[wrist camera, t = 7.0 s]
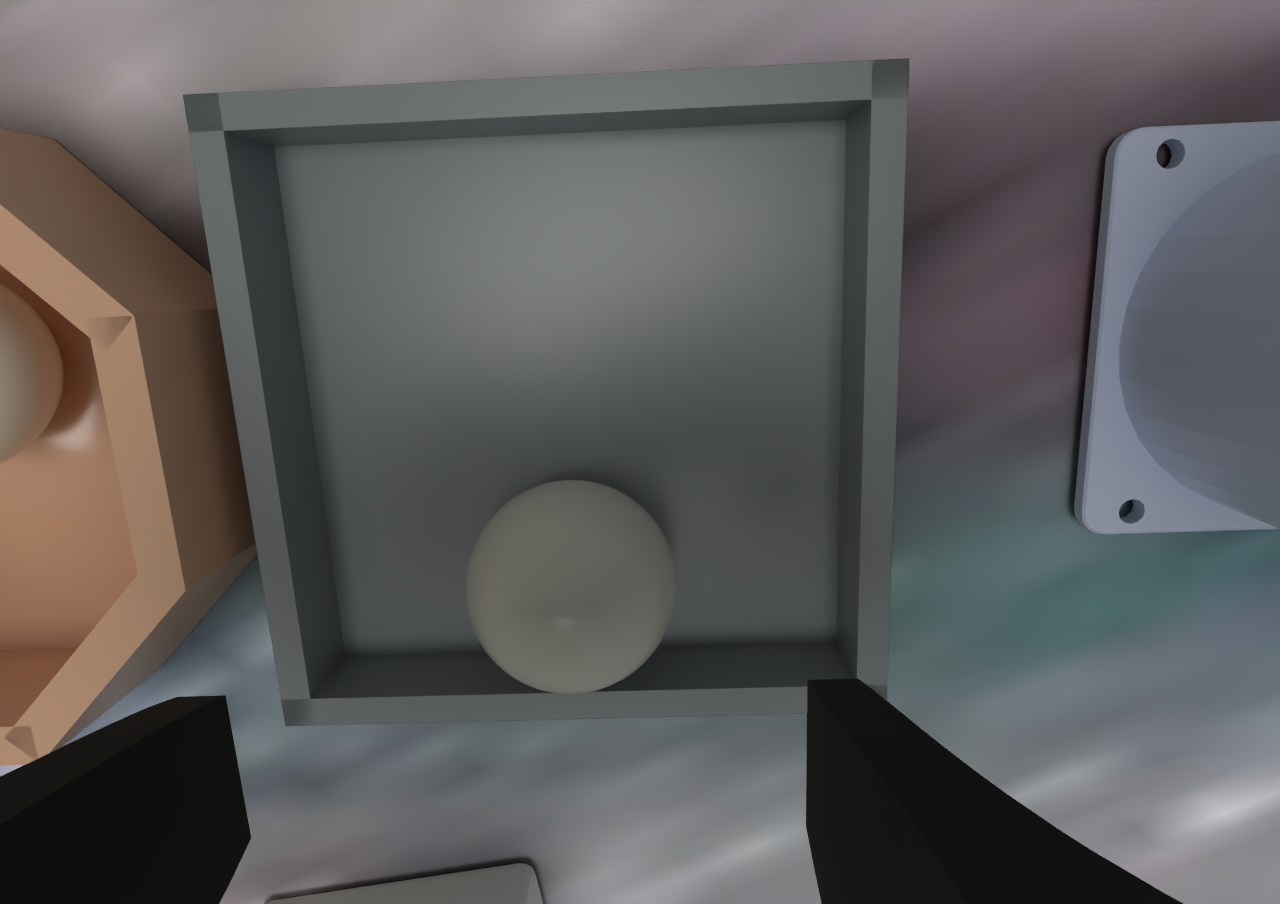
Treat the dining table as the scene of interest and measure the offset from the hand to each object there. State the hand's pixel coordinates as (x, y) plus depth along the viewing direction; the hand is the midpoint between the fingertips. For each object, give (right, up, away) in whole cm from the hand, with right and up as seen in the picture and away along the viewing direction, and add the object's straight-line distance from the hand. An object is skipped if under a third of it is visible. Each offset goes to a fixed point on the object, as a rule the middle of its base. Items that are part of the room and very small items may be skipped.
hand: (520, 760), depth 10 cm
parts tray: (0, +5, +7) cm, 8 cm away
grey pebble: (0, +2, +7) cm, 7 cm away
